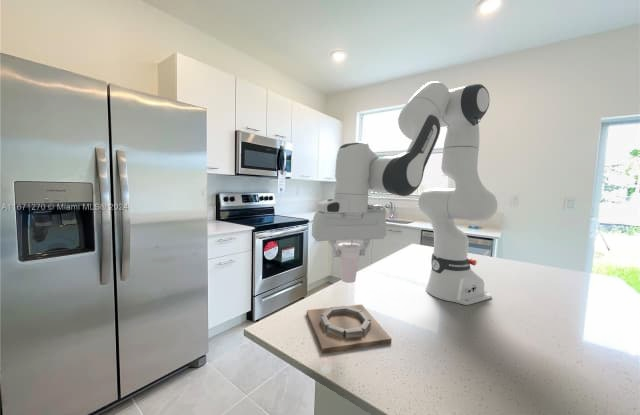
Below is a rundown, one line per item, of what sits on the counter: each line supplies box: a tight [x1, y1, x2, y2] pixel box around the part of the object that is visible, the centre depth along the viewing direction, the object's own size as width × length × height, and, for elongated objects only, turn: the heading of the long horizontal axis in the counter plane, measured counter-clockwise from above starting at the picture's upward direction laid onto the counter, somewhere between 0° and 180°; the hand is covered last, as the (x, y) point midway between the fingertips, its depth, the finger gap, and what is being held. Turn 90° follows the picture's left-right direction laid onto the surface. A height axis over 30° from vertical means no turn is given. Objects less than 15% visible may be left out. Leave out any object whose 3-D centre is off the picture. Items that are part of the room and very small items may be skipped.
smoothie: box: [337, 240, 362, 284], centre depth 68 cm, size 6×6×14 cm
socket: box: [306, 304, 393, 354], centre depth 70 cm, size 18×18×3 cm
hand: (348, 255), depth 68 cm, fingers closed on smoothie, 6 cm apart
